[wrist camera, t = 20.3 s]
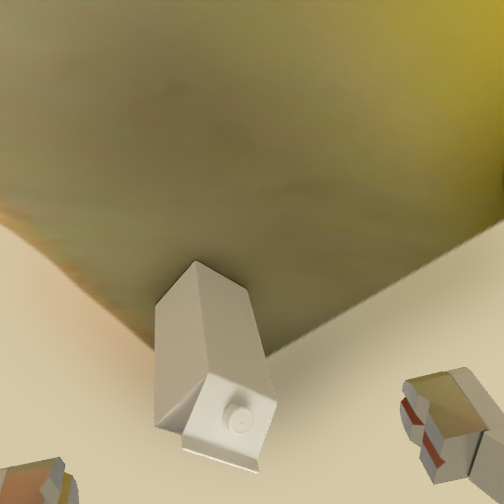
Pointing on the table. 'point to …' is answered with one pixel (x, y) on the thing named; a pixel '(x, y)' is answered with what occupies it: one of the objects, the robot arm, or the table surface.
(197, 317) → the milk carton
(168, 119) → the table surface
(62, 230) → the table surface
